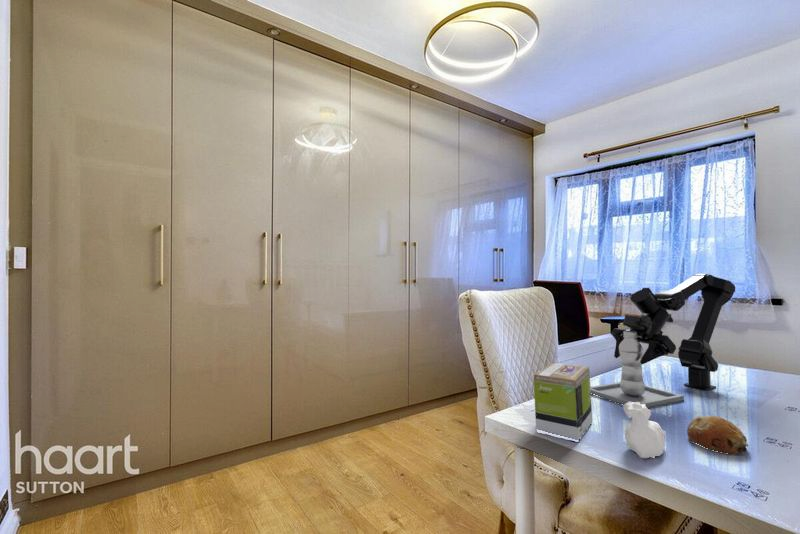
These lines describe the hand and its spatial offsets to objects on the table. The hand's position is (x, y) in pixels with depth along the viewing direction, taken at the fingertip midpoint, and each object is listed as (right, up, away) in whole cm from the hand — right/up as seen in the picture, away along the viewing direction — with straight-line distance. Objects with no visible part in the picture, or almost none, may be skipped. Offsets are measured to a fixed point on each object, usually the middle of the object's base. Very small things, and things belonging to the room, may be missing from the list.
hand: (627, 360), depth 115 cm
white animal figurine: (-19, -11, -36) cm, 42 cm away
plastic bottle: (+2, -11, 0) cm, 11 cm away
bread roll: (-1, -11, -34) cm, 35 cm away
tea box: (-30, -12, -23) cm, 40 cm away
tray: (+1, -12, 0) cm, 12 cm away
